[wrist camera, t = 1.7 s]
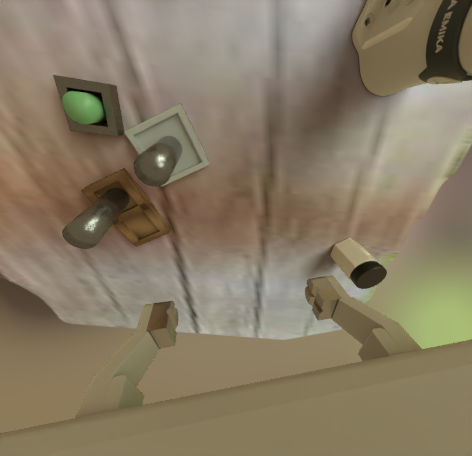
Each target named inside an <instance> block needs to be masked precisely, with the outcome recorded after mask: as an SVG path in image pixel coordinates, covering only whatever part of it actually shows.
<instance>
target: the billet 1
mask: <svg viewBox="0 0 472 456" xmlns="http://www.w3.org/2000/svg"><path fill="white" fill-rule="evenodd" d="M129 202H130V197H129V195H128V194H127V192H126V191H124V190H123V189H121V188H117V187H113V188H110V189H109V190H107V191H106V192H105V193H104V194H103V195H102V196H101V197H99V198H98V199H97V200H96V201H95V202H94V203H92V204H91V205H90V206H89V207H88V208H87V209H86V210H84V211H83V212H82V213H81V214H80V215H79V216H77V217H76V218H75V219H74V220H73V221H72V222H71V223H69V224H68V225H67V226H66V227H65V228H64V229H63V231H62V235H63V237H64V239H65V240H66V241H67V242H68V243H69V244H71V245H73V246H75V247H78V248H83V249H88V248H92V247H94V246H95V245H96V244H97V243H98V242H99V240H100V239H101V238H102V237H103V235H104V234H105V233H106V232H107V230H108V229H109V228H110V226H111V225H112V224H113V223H114V221H115V220H116V219H117V218H118V216H119V215H120V214H121V213H122V211H123V210H124V209H125V208H126V206H127V205H128V204H129Z"/></svg>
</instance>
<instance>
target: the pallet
mask: <svg viewBox="0 0 472 456" xmlns="http://www.w3.org/2000/svg"><path fill="white" fill-rule="evenodd" d="M113 187H117V188H121V189H123V190H124V191H126V192H127V194H128V195H129V197H130V202H129V204H128V205H127V206H126V208H125V209H124V210H123V211H122V213H121V214H120V215H119V216H118V218H117V219H116V220H115V221H114V223H113V224H114V225H115V226H116V227H117V228H118V229H119V230H120V231H121V232H122V233H123V234H124V235H125V236H126V237H127V238H128V239H129V240H130V241H131V242H132V243H133V244H134V245H135V246H136V247H137V246H139V245H142V244H144V243H146V242H149V241H151V240H153V239H156V238H158V237H160V236H163V235H165V234H167V233H169V231H170V227H169V225H168V224H167V223H166V222H165V220H164V219H163V218H162V216H161V215H160V214H159V212H158V211H157V210H156V209H155V207H154V206H153V205H152V203H151V202H150V201H149V199H148V198H147V197H146V196H145V194H144V193H143V192H142V190H141V189H140V188H139V186H138V185H137V184H136V183H135V181H134V180H133V179H132V177H131V176H130V175H129V173H128V172H127V171H126V170H125V168H124V169H122V170H120V171H118V172H115V173H113V174H111V175H109V176H107V177H105V178H103V179H101V180H99V181H97V182H95V183H93V184H91V185H89V186H87V187H85V188H84V189H82V190H81V191H82V192H83V193H84V194H85V195H86V196H87V197H88V198H89V199H90V200H91V201H92V202H93V203H94V202H95V201H96V200H97V199H98V198H99V197H101V196H102V195H103V194H104V193H105V192H106V191H107V190H109V189H110V188H113Z"/></svg>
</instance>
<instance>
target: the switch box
mask: <svg viewBox="0 0 472 456" xmlns="http://www.w3.org/2000/svg"><path fill="white" fill-rule="evenodd" d="M53 76H54V79H55V83H56V86H57V89H58V92H59V95H60V99H61V102H62V99H63V96H64V95H65V93H67V92H70V91H75V92H79V91H78V89H81V90H88V91H94V92H100V93H101V94H102V99H103V104H104V109H105V114H106V118H107V123H108V124H102V123H92V124H80V123H77V122H76V121H74V120H73V119H71V118H70V117H69V116H68V114H67V113H66V112H65V110H64V112H65V115H66V118H67V121H68V124H69V128H70V130H72V131H80V132H88V133H96V134H105V135H113V136H120V135H122V134H124V128H123V122H122V116H121V110H120V104H119V99H118V93H117V87H116V86H115V85H110V84H104V83H98V82H92V81H86V80H80V79H74V78H68V77H62V76H56V75H53ZM62 105H63V104H62ZM63 108H64V107H63Z"/></svg>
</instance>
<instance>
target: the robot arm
mask: <svg viewBox="0 0 472 456" xmlns="http://www.w3.org/2000/svg"><path fill="white" fill-rule="evenodd" d="M366 20H367V25H365V21H366ZM352 40H353V43H354V46H355V48H356V50H357V52H358V54H359V63H360V73H361V78H362V81H363V83H364V85H365V86H366V88H367V89H368V90H369V91H370V92H372V93H373V94H376V95H379V96H388V95H392V94H395V93H397V92H399V91H402V90H404V89H407V88H410V87H413V86H417V85H421V84H425V83H429V84H449V83H460V82H462V81H468V80H472V0H367V2H366V4H365V6H364V9H363V11H362V13H361V15H360V17H359V19H358V21H357V23H356V25H355V27H354V30H353V33H352ZM307 285H308V286H307V287H306V288H305V296H306V299H307V301H308V303H309V304H310V305H312V306H313V309H312V311H313V312H314V314H315V316H316V318H317V320H324V319H330V318H332V320H333V321H334V322H336V323H337V324H338V325H339V326H341V327H342V328H343V329H344V330H346V331H347V332H348V333H349V334H350V335H352V336H353V337H354V338H355V339H356V340H358V341H359V342H360V343H361V344H363V346H362V348H361V349H360V350H359V356H360V357H361V359H362V361H361V362H356V363H351V364H346V365H341V366H336V367H331V368H326V369H321V370H316V371H311V372H306V373H301V374H296V375H291V376H285V377H280V378H276V379H270V380H266V381H260V382H255V383H251V384H245V385H241V386H235V387H230V388H225V389H220V390H216V391H210V392H205V393H200V394H195V395H190V396H185V397H180V398H175V399H170V400H165V401H160V402H155V403H150V404H145V405H142V404H143V398H144V395H143V393H142V392H141V391H140V390H139V389H138V388H136V386H137V385H138V383H139V382H140V380H141V378H142V377H143V375H144V373H145V372H146V370H147V369H148V367H149V366H150V364H151V363H152V361H153V359H154V358H155V356H156V355H157V353H158V351H159V349H161V348H165V347H170V346H175V342H176V334H177V333H176V331H175V328H176V327H177V326H178V311H177V309H176V308H174V305H175V304H174V302H173V301H168V302H160V303H153V304H146V305H145V306H144V308H143V311H142V314H141V317H140V320H139V323H138V326H137V330H136V333H135V334H132V335H131V337H129V339H128V340H127V341H126V342H125V343H124V344H123V345H122V346H121V348H120V349H119V350H118V351H117V352H116V353H115V354H114V355H113V357H112V358H111V359H110V360H109V361H108V362H107V363H106V364H105V365H104V367H103V368H102V369H101V370H100V371H99V372H98V373H97V374H96V375H95V376H94V378H93V379H92V380H91V382H90V385H89V387H88V389H87V392H86V394H85V396H84V398H83V401H82V403H81V406H80V408H79V410H78V412H77V415H76V417H75V419H69V420H64V421H60V422H54V423H49V424H44V425H39V426H34V427H29V428H24V429H19V430H14V431H9V432H4V433H0V456H472V340H467V341H462V342H457V343H452V344H447V345H442V346H437V347H431V348H427V349H421V348H420V346H419V345H418V344H417V343H416V342H415V341H414V340H413V339H412V337H411V336H410V335H409V334H408V333H407V332H406V331H405V330H404V329H403V327H402V326H401V325H400V324H399V323H397V322H395V321H394V320H392V319H390V318H388V317H387V316H385V315H383V314H381V313H380V312H378V311H376V310H374V309H373V308H371V307H369V306H367V305H366V304H364V303H362V302H360V301H359V300H357V299H355V298H353V297H350V296H349V295H348V294H347V293H346V291H345V290H344V289H343V287H342V286H341V285H340V284H339V282H338V281H337V280H336V278H335V277H334V276H332V275H331V276H325V277H318V278H312V279H308V280H307Z"/></svg>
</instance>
